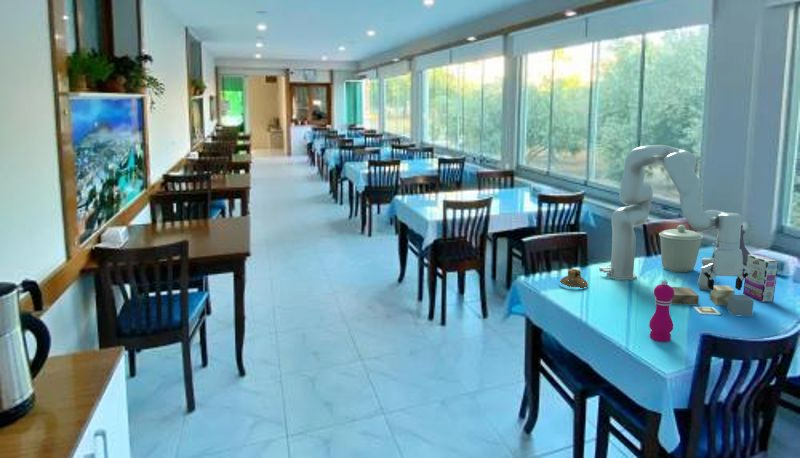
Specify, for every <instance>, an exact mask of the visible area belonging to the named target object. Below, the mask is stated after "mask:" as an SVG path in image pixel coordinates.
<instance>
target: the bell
mask: <svg viewBox="0 0 800 458" xmlns="http://www.w3.org/2000/svg"><path fill="white" fill-rule="evenodd" d="M568 280H569V281H568ZM559 282H561V283H562V284H564V285H567V286H569V287H570V286H571V287H580V288H584V287H587V286H589V284H588V282H587V280H586V279H584V277H583V278H582V276H581V270H580V269H576V268H575V269H574V268H571V269H570V268H569V269H568V272H567V275H566V276H564V277H562V278H561V280H559ZM583 282H584V283H583ZM587 288H588V287H587Z"/></svg>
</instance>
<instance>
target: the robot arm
mask: <svg viewBox="0 0 800 458" xmlns="http://www.w3.org/2000/svg"><path fill="white" fill-rule="evenodd" d="M696 165H697V158H696V155H694V154H693V153H692V152H690V151H689V150H685V149H682V148H677V147H673V146H669V145H667V144H666V145H665V144H650V145H643V146H642V145H641V146H637V147H636V148H633V149H632V150H630V151H629V152H628V154H626V157H625V160H624V167H623V173H622V178H621V182H620V188H619V193H618V194H619V195H618V198H619V199H618V200H620V203H622V204H623V205H626V206H623V207H622V206H621V207H619V208H617V209H615V210H614V211H613V212H612V214H611V217H610V219H611V220H610V221H611V229H612V239H611V253H610V254H611V255H610V257H611V259H610V264H609V265H608V266H607V267H605V266H604V267H603V266H600V267H599V270H598V271H599V272H603V273H606V277H607V276H608V277H607V278H609V277H610V278H609V279H611V278H613V279H612V280H615V279H616V281H634V280H636V279H637V278H638V275H637V274H636V273H634V270H635V269H634V268H635V255H636V253H635V252H636V233H635V230H634V228H635V227H640V226H642V225H644V224H646V222H647V220H648V219H649V216H650V215H649V214H650V210H651V206H652V201H653V196H654V193H653V191H654V190H653V188H652V186H651V185H650V183H648V182H646V181H644V179H645V174H646V173H645V167H650V166H651V167H653V166H663V167H664V169H665V171H666V173H667V174H668V176H669V178H670V180H671V181H672V183H673V185H674V186H675V189H676V190H677V191H678V194H679V203H680V209H681V212H682V214H683V216H684V218H685V219H686V221H687V223H688V224H689V226H690V227H691V228H692V229H693V231H695V232H698V233H699V232H700V233H705V232H708V231H711V230H717V234H716V235H717V236H716V240H715V242H712V246H713V247H714V249H713V251H712V254H711V263H710V264H708V265H706V266H704V267H702V266H701V268H700V270H702V272H703V274H704V275H705V276H706V277H707V278H708V284H707V286H708V288H709V289H710V291H711V290H713V288H714V285H715V280H714V279H715V277H736V278H735V289H736V290H737V291H742V288H743V282H744V281H745V277H747V276H748V274H749V273H750V271H751V268H749V267H747V266H745V265H743V256H742V250H741V249H739V246H740V235H741V225H742V219H743V217H742V215H741V214H740V213H736V212H725V211H721V210H717V209H708V210H704V208H703V207H702V205H701V203H700V201H699V191H700V189H701V187H702V182H701V180H700V179H699V177H698V176H697V174H696V172H695V171H694V169H695V168H696ZM707 269H710V271H711V272H710V273H709V274H708V273H707ZM743 269H744V270H743Z"/></svg>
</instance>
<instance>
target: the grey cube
mask: <svg viewBox="0 0 800 458" xmlns="http://www.w3.org/2000/svg"><path fill="white" fill-rule="evenodd" d="M754 300H755V299H753V298H752V297H749V296H747V295H745V294H734V295H729V297H728V305H726V307H727V308H726V309H727V311H728V312H729V313H731V315H733V316H736V315H741V316H740V317H753V310H754V309H753V308H754V302H755V301H754Z"/></svg>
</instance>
